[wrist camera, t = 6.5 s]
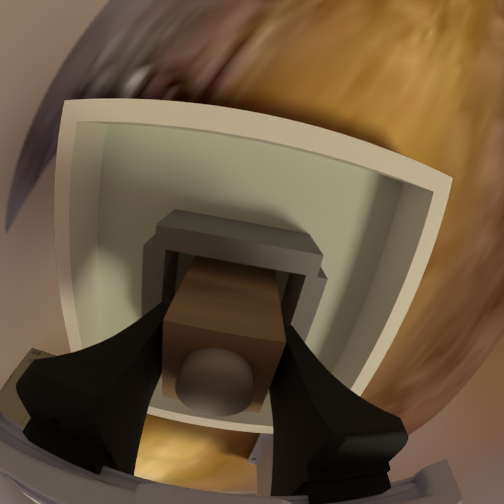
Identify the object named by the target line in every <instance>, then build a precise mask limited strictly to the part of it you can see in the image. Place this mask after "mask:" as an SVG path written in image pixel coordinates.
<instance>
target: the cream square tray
mask: <svg viewBox="0 0 504 504" xmlns="http://www.w3.org/2000/svg"><path fill="white" fill-rule="evenodd" d="M452 180H453V178H452V177H450V176H448V175H446V174H444V173H442V172H439V171H437V170H435V169H433V168H431V167H429V166H426V165H424V164H422V163H420V162H417V161H415V160H413V159H410V158H408V157H405V156H403V155H400V154H398V153H395V152H393V151H390V150H388V149H385V148H382V147H379V146H377V145H374V144H371V143H368V142H365V141H362V140H359V139H356V138H353V137H350V136H347V135H344V134H341V133H337V132H334V131H331V130H327V129H324V128H320V127H317V126H313V125H309V124H305V123H301V122H297V121H293V120H289V119H285V118H280V117H276V116H271V115H266V114H261V113H256V112H251V111H246V110H240V109H234V108H227V107H221V106H214V105H206V104H198V103H189V102H178V101H166V100H150V99H78V100H65V101H64V106H63V112H62V117H61V124H60V130H59V138H58V146H57V155H56V167H55V183H54V236H55V254H56V266H57V276H58V284H59V292H60V298H61V305H62V311H63V317H64V322H65V327H66V332H67V336H68V341H69V345H70V350H71V353H72V352H75V351H79V350H82V349H84V348H87V347H90V346H92V345H95V344H97V343H100V342H102V341H104V340H106V339H108V338H110V337H112V336H114V335H116V334H117V333H119V332H121V331H122V330H124V329H125V328H127V327H128V326H130V325H131V324H133V323H134V322H136V321H137V320H138V319H140V318H141V317H143V316H144V315H145V314H146V313H148V312H149V311H150V310H152V309H153V308H154V307H155V306H157V305H158V304H159V303H161V302H162V303H167V304H171V303H172V301H173V299H174V297H175V295H176V293H177V291H178V289H179V287H180V285H181V283H182V281H183V279H184V277H185V275H186V273H187V271H188V269H189V267H190V265H191V263H192V261H193V260H194V258H195V256H196V255H198V256H203V257H208V258H214V259H219V260H224V261H230V262H235V263H241V264H246V265H252V266H257V267H263V268H268V269H274V270H275V273H276V280H277V286H278V292H279V299H280V305H281V311H282V318H283V324H285V325H292V326H293V327H294V329H295V330H296V331H297V333H298V334H299V335H300V337H301V338H302V339H303V341H304V342H305V344H306V345H307V346H308V347H309V349H310V350H311V351H312V353H313V354H314V355H315V356H316V357H317V359H318V360H319V361H320V362H321V363H322V364H323V365H324V366H325V367H326V368H327V370H328V371H329V372H330V373H331V374H332V375H334V376H335V377H336V378H337V379H338V380H339V381H340V382H341V383H342V384H344V385H345V386H346V387H347V388H349V389H350V390H351V391H353V392H354V393H356V394H357V395H358V396H361V394H362V393H363V391H364V389H365V388H366V386H367V385H368V383H369V381H370V380H371V378H372V377H373V375H374V373H375V372H376V370H377V368H378V366H379V365H380V363H381V361H382V359H383V358H384V356H385V354H386V352H387V350H388V349H389V347H390V345H391V343H392V341H393V339H394V337H395V335H396V333H397V331H398V329H399V327H400V325H401V323H402V321H403V319H404V317H405V315H406V313H407V311H408V309H409V307H410V304H411V302H412V300H413V298H414V295H415V293H416V291H417V288H418V286H419V283H420V281H421V279H422V276H423V274H424V271H425V268H426V266H427V263H428V260H429V258H430V255H431V252H432V249H433V246H434V244H435V241H436V238H437V234H438V231H439V228H440V225H441V222H442V218H443V215H444V211H445V208H446V204H447V200H448V196H449V192H450V188H451V184H452ZM147 414H150V415H154V416H158V417H162V418H167V419H171V420H175V421H180V422H185V423H190V424H195V425H201V426H207V427H213V428H220V429H227V430H235V431H244V432H254V433H267V434H273V417H272V409H271V402H270V394H269V390H268V393H267V395H266V398H265V400H264V403H263V405H262V408H261V410H260V413H253V412H245V411H242V412H240V413H238V414H235V415H231V416H224V417H217V416H209V415H204V414H201V413H198V412H196V411H194V410H192V409H190V408H188V407H187V406H186V405H184V404H183V403H182V402H181V401H180V400H178V399H173V398H169V397H165V396H162V374H161V376H160V379H159V381H158V384H157V386H156V388H155V391H154V393H153V396H152V398H151V401H150V404H149V407H148V411H147Z"/></svg>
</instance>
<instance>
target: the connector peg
mask: <svg viewBox="0 0 504 504" xmlns="http://www.w3.org/2000/svg"><path fill="white" fill-rule="evenodd" d="M285 344H286V338H285V331H284V324H283V318H282V311H281V305H280V299H279V292H278V286H277V280H276V273H275V270H274V269H268V268H263V267H257V266H252V265H246V264H241V263H235V262H230V261H224V260H219V259H214V258H208V257H203V256H198V255H196V256H195V258H194V260H193V261H192V263H191V265H190V267H189V269H188V271H187V273H186V275H185V277H184V279H183V281H182V283H181V285H180V287H179V289H178V291H177V293H176V295H175V297H174V299H173V301H172V303H171V305H170V307H169V309H168V311H167V313H166V315H165V317H164V319H163V340H162V396H165V397H169V398H173V399H178V400H180V401H181V402H182V403H183V404H184V405H186V406H187V407H188V408H190V409H192V410H194V411H196V412H198V413H201V414H204V415H209V416H217V417H224V416H231V415H235V414H238V413H240V412H242V411H245V412H253V413H260V410H261V408H262V405H263V403H264V400H265V398H266V395H267V393H268V390H269V387H270V385H271V382H272V380H273V377H274V374H275V372H276V369H277V366H278V364H279V361H280V358H281V355H282V353H283V350H284V347H285Z"/></svg>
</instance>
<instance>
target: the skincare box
mask: <svg viewBox="0 0 504 504" xmlns="http://www.w3.org/2000/svg"><path fill="white" fill-rule="evenodd" d="M48 357H55V355H52V354H50V353H46V352H43V351H40V350H37V349H33V348H32V349H31V350H30V351H29V352H28V354H27V355H26V356H25V357H24V359H23V360H22V361H21V363H20V364H19V365H18V367H17V368H16V369H15V371H14V372H13V373H12V375H11V376H10V378H9V379H8V380H7V382H6V383H5V384H4V386H3V387H2V389H1V390H0V410H1V413H3V414H4V415H6V416H7V417H9V418H10V419H12V420H13V421H15V422H16V423H18V424H20V425H21V426H23V427H24V428H25V426H26V425H27V423H28V421H29V420H30V418H31V417H30V416H29V414H28V412H27V411H26V409H25V407H24V405H23V404H22V402H21V400H20V398H19V396H18V394H17V391H16V383H17V381H18V380H19V378H20V377H21V376H22V374H23V373H24V372H25V370H26V369H27V368H28V366H29V365H30V364H31V363H32V362H33V361H34V359H42V358H48Z"/></svg>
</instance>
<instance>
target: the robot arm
mask: <svg viewBox="0 0 504 504" xmlns="http://www.w3.org/2000/svg"><path fill="white" fill-rule="evenodd" d="M170 305H171V304H167V303H162V302H161V303H159V304H158V305H157V306H155V307H154V308H153V309H152V310H150V311H149V312H148V313H146V314H145V315H144V316H143V317H141V318H140V319H138V320H137V321H136V322H134V323H133V324H131V325H130V326H128V327H127V328H125V329H124V330H122V331H121V332H119V333H117V334H116V335H114V336H112V337H110V338H108V339H106V340H104V341H102V342H100V343H97V344H95V345H92V346H90V347H87V348H84V349H82V350H79V351H75V352H72V353H68V354H64V355H60V356H55V357H48V358H42V359H34V361H33V362H32V363H31V364H30V365H29V366H28V368H27V369H26V370H25V372H24V373H23V374H22V376H21V377H20V378H19V380H18V381H17V383H16V391H17V394H18V396H19V398H20V400H21V402H22V404H23V405H24V407H25V409H26V411H27V412H28V414H29V416H30V417H31V418H30V420H29V421H28V423H27V425H26V426H25V428H24V427H23V426H21V425H20V424H18V423H16V422H15V421H13V420H12V419H10V418H9V417H7V416H6V415H4V414H3V413H1V410H0V476H1V477H2V478H4V479H5V480H6V481H8V482H9V483H10V484H12V485H13V486H15V487H16V488H17V489H19V490H20V491H22V492H23V493H25V494H26V495H28V496H29V497H31V498H33V499H34V500H36V501H37V502H39V503H41V504H460V503H462V502H463V500H464V499H463V497H462V494H461V492H460V490H459V487H458V485H457V482H456V480H455V478H454V475H453V473H452V471H451V469H450V466H449V464H448V462H447V460H443V461H441V462H437V463H435V464H432V465H429V466H427V467H425V468H423V469H421V470H420V471H419V472H418V473H416V474H415V476H413V477H410V478H406V479H403V480H399V481H395V482H391V483H390V481H389V478H388V475H387V472H388V471H389V470H390V466H389V463H388V462H389V461H390V460H391V459H392V458H393V457H394V456H395V455H396V454H398V452H399V451H401V450H402V448H403V447H404V446H405V445H406V443H407V441H408V434H407V432H406V430H405V427H404V425H403V423H402V421H401V419H400V418H399V417H397V416H395V415H393V414H390V413H388V412H386V411H384V410H382V409H380V408H378V407H376V406H374V405H373V404H371V403H369V402H367V401H366V400H364V399H363V398H361V397H360V396H358V395H357V394H356V393H354V392H353V391H351V390H350V389H349V388H347V387H346V386H345V385H344V384H342V383H341V382H340V381H339V380H338V379H337V378H336V377H335V376H334V375H332V374H331V373H330V372H329V371H328V370H327V368H326V367H325V366H324V365H323V364H322V363H321V362H320V361H319V360H318V359H317V357H316V356H315V355H314V354H313V353H312V351H311V350H310V349H309V347H308V346H307V345H306V344H305V342H304V341H303V339H302V338H301V337H300V335H299V334H298V333H297V331H296V330H295V329H294V327H293V326H292V325H285V324H284V331H285V338H286V344H285V347H284V350H283V353H282V355H281V358H280V361H279V364H278V366H277V369H276V372H275V374H274V377H273V380H272V382H271V385H270V387H269V394H270V402H271V409H272V417H273V434H267V433H260V435H259V437H258V439H257V441H256V443H255V445H254V447H253V449H252V452H251V454H250V456H249V458H248V463H249V464H255V465H257V496H256V495H239V494H227V493H218V492H210V491H203V490H196V489H190V488H185V487H179V486H174V485H168V484H163V483H159V482H155V481H151V480H147V479H143V478H140V477H136V476H134V470H135V464H136V458H137V453H138V448H139V444H140V439H141V435H142V430H143V426H144V422H145V418H146V414H147V411H148V407H149V404H150V401H151V398H152V396H153V393H154V391H155V388H156V386H157V384H158V381H159V379H160V376H161V374H162V340H163V319H164V317H165V315H166V313H167V311H168V309H169V307H170Z"/></svg>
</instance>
